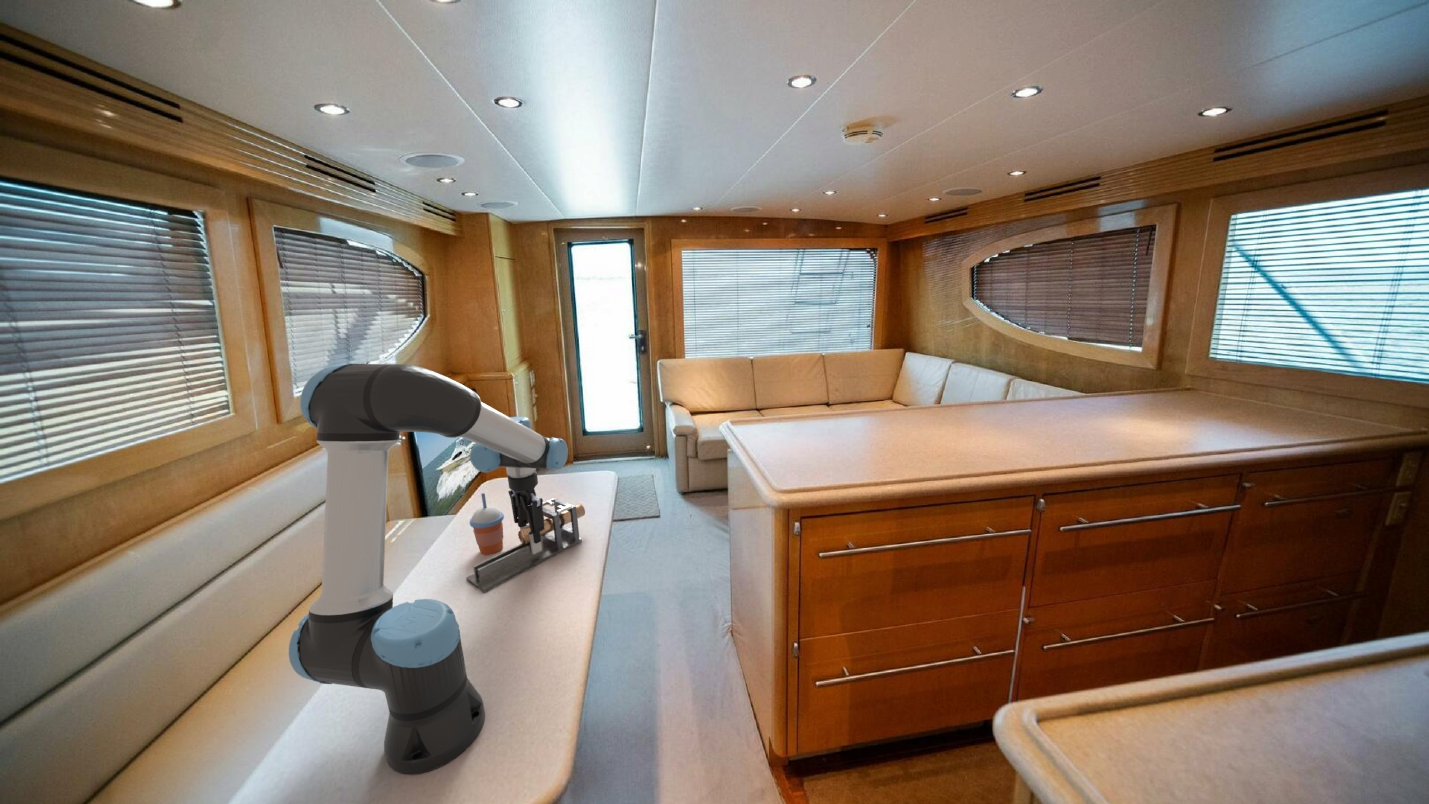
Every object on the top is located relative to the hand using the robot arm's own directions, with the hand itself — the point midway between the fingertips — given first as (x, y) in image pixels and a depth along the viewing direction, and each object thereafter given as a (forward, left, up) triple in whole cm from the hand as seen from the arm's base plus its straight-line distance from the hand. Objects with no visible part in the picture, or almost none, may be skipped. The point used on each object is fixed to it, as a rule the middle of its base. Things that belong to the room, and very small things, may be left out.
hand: (532, 549), depth 138 cm
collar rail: (-2, 0, -3) cm, 3 cm away
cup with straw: (-5, +14, -3) cm, 15 cm away
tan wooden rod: (+8, 0, +5) cm, 9 cm away
